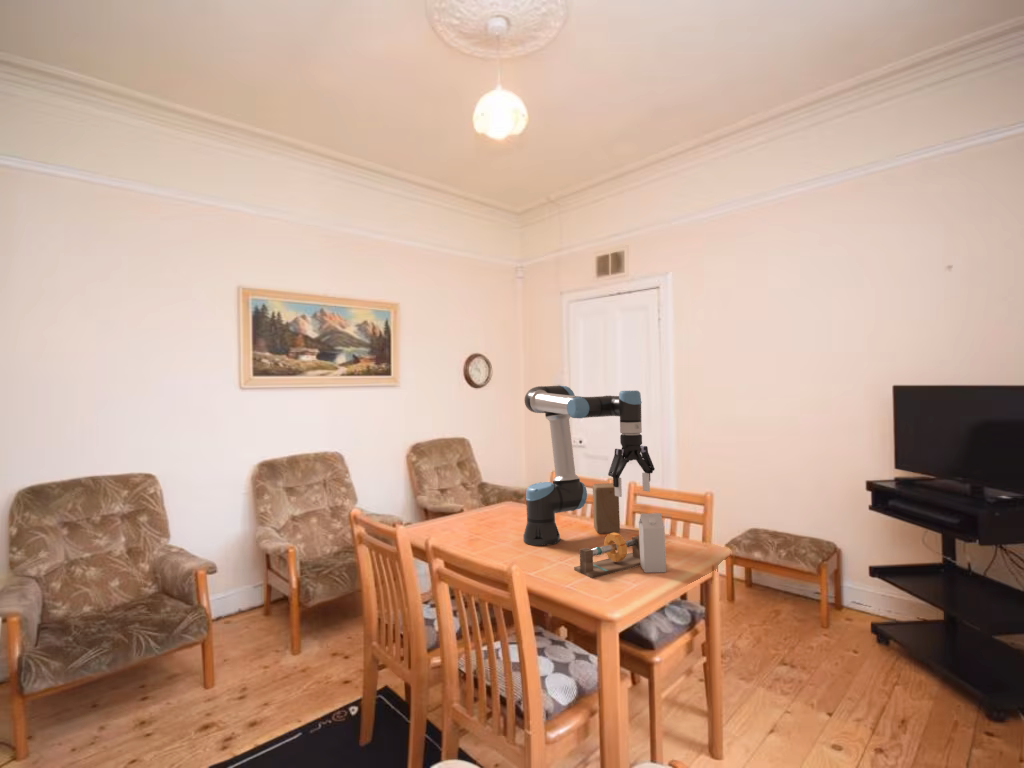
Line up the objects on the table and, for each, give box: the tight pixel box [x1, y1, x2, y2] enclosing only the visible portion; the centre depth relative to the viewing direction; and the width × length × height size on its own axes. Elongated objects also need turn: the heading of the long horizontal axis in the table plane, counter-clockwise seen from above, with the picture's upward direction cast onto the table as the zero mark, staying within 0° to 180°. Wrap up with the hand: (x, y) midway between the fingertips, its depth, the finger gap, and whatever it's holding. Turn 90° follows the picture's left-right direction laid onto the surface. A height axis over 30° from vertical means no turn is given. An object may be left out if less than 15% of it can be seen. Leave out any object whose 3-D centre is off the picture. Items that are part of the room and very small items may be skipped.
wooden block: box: [592, 482, 621, 535], centre depth 225 cm, size 10×10×20 cm
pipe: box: [590, 539, 638, 557], centre depth 180 cm, size 3×24×3 cm, turn 121°
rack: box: [573, 535, 641, 579], centre depth 180 cm, size 10×27×8 cm, turn 120°
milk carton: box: [638, 512, 667, 574], centre depth 175 cm, size 7×7×19 cm
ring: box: [603, 532, 628, 562], centre depth 180 cm, size 9×2×9 cm, turn 30°
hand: (632, 493), depth 182 cm, fingers open, 13 cm apart
